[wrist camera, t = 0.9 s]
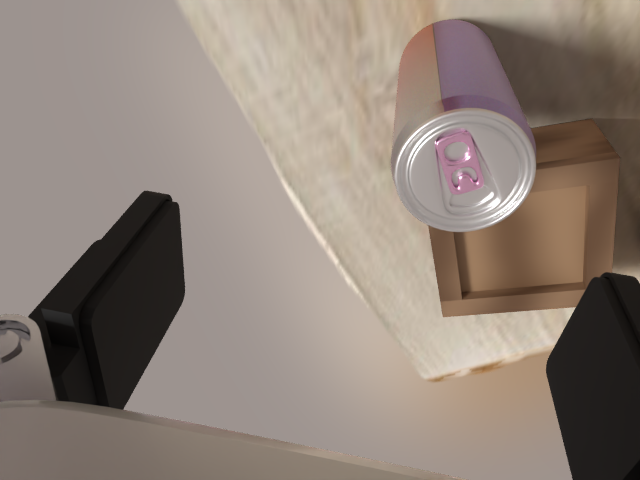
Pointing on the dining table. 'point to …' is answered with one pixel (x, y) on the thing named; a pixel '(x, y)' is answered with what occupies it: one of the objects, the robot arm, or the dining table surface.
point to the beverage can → (459, 131)
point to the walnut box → (538, 232)
